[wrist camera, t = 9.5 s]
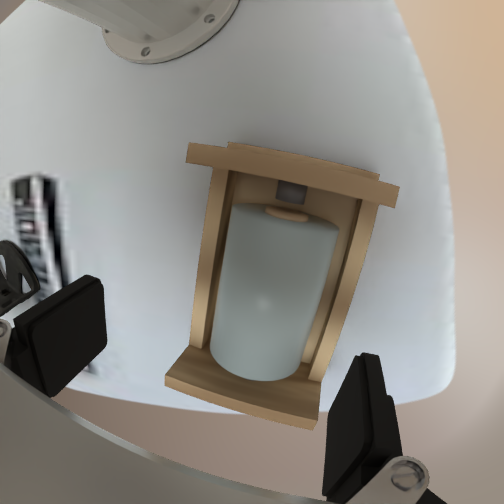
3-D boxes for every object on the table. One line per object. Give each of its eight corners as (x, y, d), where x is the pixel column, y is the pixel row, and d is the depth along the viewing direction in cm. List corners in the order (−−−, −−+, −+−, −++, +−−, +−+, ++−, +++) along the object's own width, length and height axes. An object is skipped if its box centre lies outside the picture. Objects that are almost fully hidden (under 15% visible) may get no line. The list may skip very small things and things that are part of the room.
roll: (246, 195, 20) (219, 206, 15) (336, 215, 19) (345, 235, 14) (223, 321, 23) (196, 367, 17) (301, 341, 22) (295, 393, 17)
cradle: (232, 142, 21) (190, 132, 14) (377, 174, 19) (402, 176, 12) (201, 341, 25) (164, 390, 19) (317, 373, 24) (310, 435, 17)
